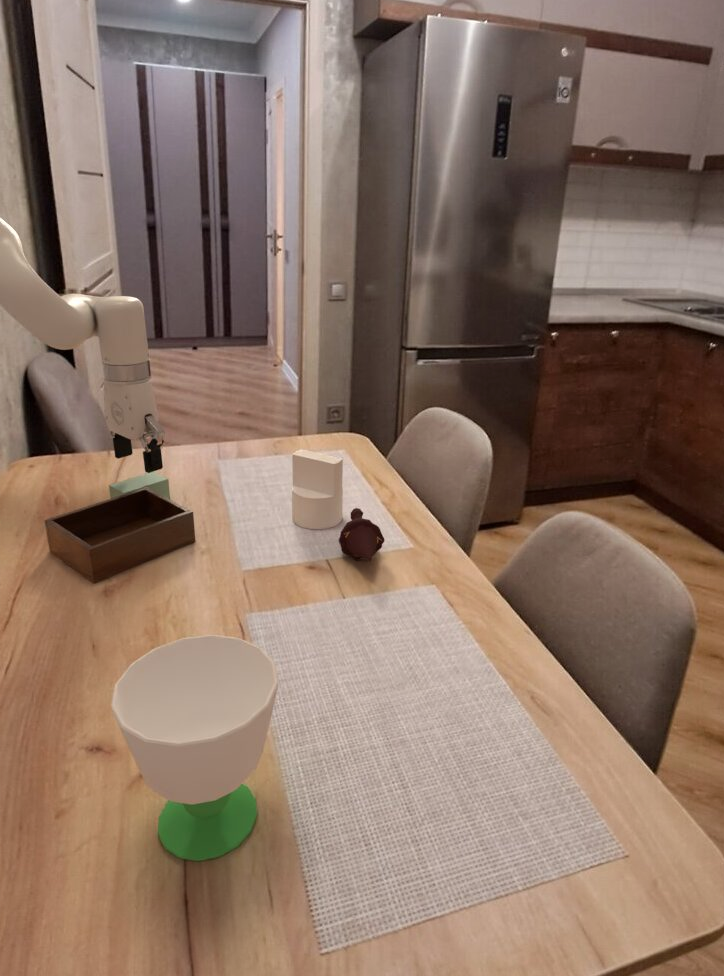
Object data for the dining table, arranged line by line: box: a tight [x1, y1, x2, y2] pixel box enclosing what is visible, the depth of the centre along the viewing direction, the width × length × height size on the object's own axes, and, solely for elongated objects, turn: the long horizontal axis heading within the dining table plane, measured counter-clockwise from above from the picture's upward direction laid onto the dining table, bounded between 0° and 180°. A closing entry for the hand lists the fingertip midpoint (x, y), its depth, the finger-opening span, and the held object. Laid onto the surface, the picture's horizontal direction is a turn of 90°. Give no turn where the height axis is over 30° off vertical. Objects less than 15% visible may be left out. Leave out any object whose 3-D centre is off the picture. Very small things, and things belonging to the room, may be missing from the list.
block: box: [108, 471, 171, 499], centre depth 123 cm, size 5×9×4 cm, turn 141°
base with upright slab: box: [291, 448, 344, 530], centre depth 119 cm, size 9×9×12 cm
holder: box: [44, 487, 196, 584], centre depth 107 cm, size 14×18×6 cm
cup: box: [110, 634, 279, 862], centre depth 60 cm, size 14×14×16 cm
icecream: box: [338, 507, 385, 562], centre depth 108 cm, size 7×7×15 cm
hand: (138, 463), depth 121 cm, fingers open, 9 cm apart
